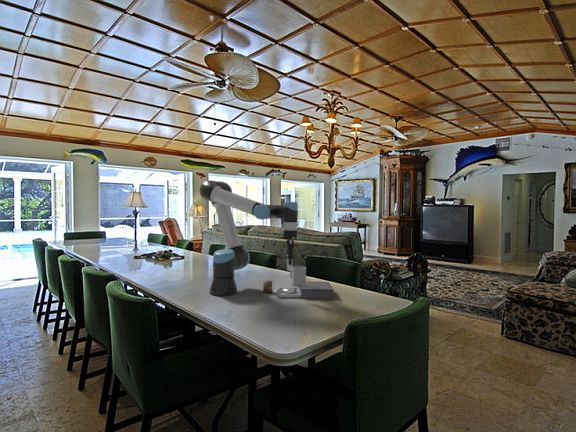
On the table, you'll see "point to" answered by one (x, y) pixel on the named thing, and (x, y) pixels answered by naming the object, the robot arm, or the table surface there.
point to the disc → (289, 290)
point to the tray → (295, 295)
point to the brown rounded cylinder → (267, 286)
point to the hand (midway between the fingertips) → (289, 268)
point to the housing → (316, 290)
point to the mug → (298, 275)
